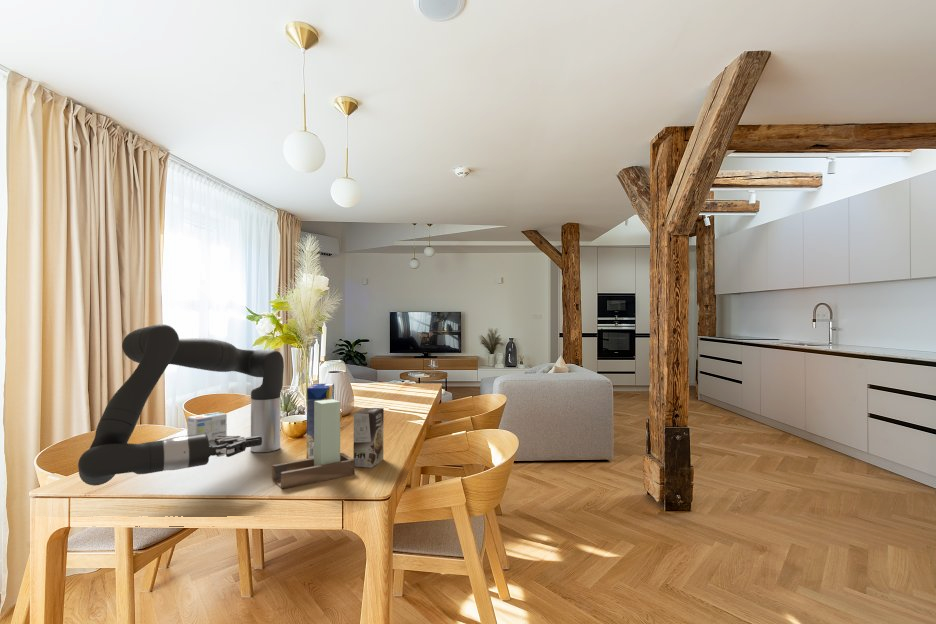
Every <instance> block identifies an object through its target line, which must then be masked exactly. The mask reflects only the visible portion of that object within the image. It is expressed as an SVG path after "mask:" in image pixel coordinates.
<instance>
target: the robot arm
mask: <svg viewBox="0 0 936 624" xmlns="http://www.w3.org/2000/svg"><path fill="white" fill-rule="evenodd" d="M121 348H122V351H123V353H124V355H125V356H126V357H127V358H128V359H130V361H132V362H135V363H138V365H137V367H136V368H135V370H133V373H131V375H130V376H129V377H128V379H127V380H126V381H125V382H124V383H123V384H122V385H121V386H120V388H119V389H117V391H116V392H115V393H114V394H113V395H112V397H111V399H110V400H109V401H108V403H107V405H106V406H105V408H104V411H103V413H102V414H101V418H100V419H99V422H98V424H97V426H96V429H95V434H94V438H93V441H92V442H91V445H90V447H89V449H87V450H86V451H84V452H83V453H82V454H81V456H80V457H79V459H78V461H77V462H78V463H77V466H78V467H77V469H78V474H79V475H78V476H79V478H80V480H81V481H82V482H83V483H84V484H87V485H89V486H94V487H95V486H101V485H104V484H106V483H108V482H109V481H111V480H112V479H114V477H115V476H116V475H120V474H121V475H122V474H127V473H128V474H129V473H134V474H136V475H146V474H154V473H158V472H163V471H164V472H166V471H178V470H183V469H189V468H194V467H201V466H205V465H208V464H209V460H210V457H213V456H215V457H216V458H217V457H224V456H225V457H227V458H229V457H233V456H235V455H238V454H241V453H242V452H246V449H247V448H250V451H251V452H254V453H269V452H274V451H277V450H279V449H280V448H281V395H282V389H283V386H284V370H285V368H284V367H285V365H284V364H285V363H284V357H283V354H282V353H281V352H280V351H279V350H274V349H272V350H271V349H270V350H269V349H267V350H265V349H255V350H254V349H241V348H237V347H236V346H235V345H234V344H232V343H230V342H226V341H224V340H219V339H213V338H202V337H201V338H199V337H198V338H193V337H192V338H180V337H179V334H178V332H177V331H176V330H175V329H174V327H172V326H171V325H169V324H161V323H160V324H154V325H153V324H152V325H149V326H145V327H141V328H137V329H135V330H133V331H131V332H129V333H128V334H127V335H126V336H125V337H124V338H123V340H122V345H121ZM169 365H174V366H179V367H185V368H189V369H190V368H191V369H197V370H202V371H203V370H204V371H210V372H216V373H220V372H221V373H227V372H230V373H231V372H236V373H240V374H243V375H247V376H250V377H254V378H262V381H261V385H260V386H258V387H255V388H253V389H252V390H251V392H250V436H247V437H245V436H241V435H227V436H218V437H217V438H215V440H210V441H209V440H208V436H207V435H206V434H205V433H203V434H196V435H189V436H187V435H183V436H177V437H171V438H167V439H163V440H155V441H149V442H141V443H128V442H129V440H130V438H131V436H132V434H133V432H134V430H135V428H136V426H137V423H138V420H139V419H140V416H141V414H142V412H143V409H144V407H145V405H146V403H147V401H148V399H149V397H150V395H151V394H152V393H153V389H154V388H155V387H156V386H157V384H158V382H159V380H160V378H161V377H162V375H163V374H164V372H165V371H166V369H167V368H168V366H169Z"/></svg>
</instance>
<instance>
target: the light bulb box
mask: <svg viewBox="0 0 936 624" xmlns="http://www.w3.org/2000/svg"><path fill="white" fill-rule="evenodd" d="M227 416H228V415H227V413H224V412H219V411H215V412H210V413H205V414H204V413H203V414H197V415H191V416H187V418H186V420H187V422H186V423H187V429H186V430H187V435H186V436H189V435H196V434H203V433H205V434H206V435H207V436H208V440H209V441H210V440H215V438H217V437H218V436H228V435H227V434H228V433H227V430H228V426H227V425H228V423H227V418H228V417H227Z"/></svg>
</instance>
